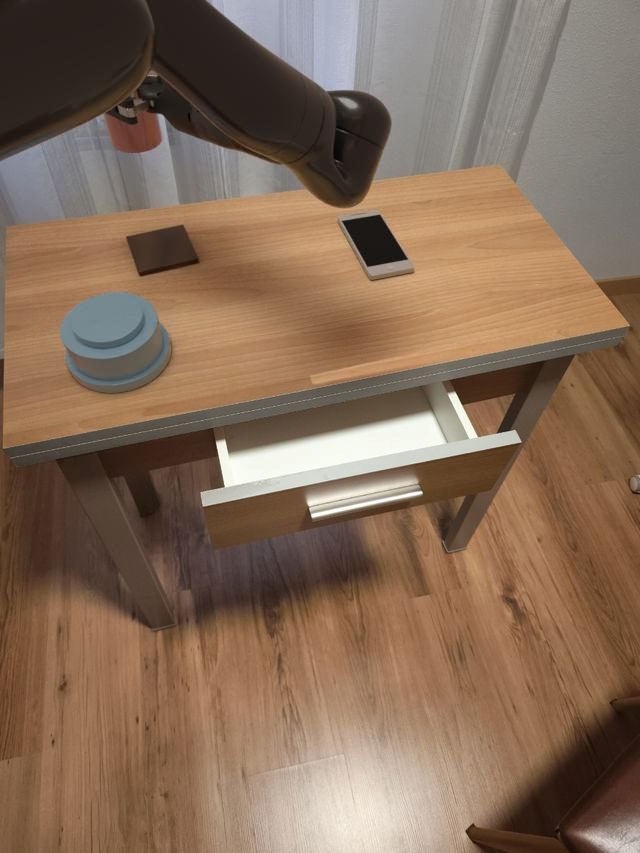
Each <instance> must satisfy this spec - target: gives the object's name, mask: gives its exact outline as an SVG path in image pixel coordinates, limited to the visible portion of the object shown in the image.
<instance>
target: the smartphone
mask: <svg viewBox="0 0 640 853" xmlns="http://www.w3.org/2000/svg"><path fill="white" fill-rule="evenodd" d="M337 223H338V225H339V227H340V228H341V230H342V232H343V235H344V236H345V237H346V239H347V242H348V243H349V245H350V247H351V248H352V250H353V253H354V254H355V256H356V258H357V259H358V261H359V263H360V265H361V267H362V269H363V270H364V272H365V275H366V276H367V278H368V279H369V280H370V281H374V280H378V279H385V278H390V277H395V276H400V275H405V274H411V273H414V270H415V265H414V263H413V261H412V260H411V259H410V257H409V256H408V254H407V252H406V251H405V249H404V248H403V246H402V245H401V243H400V241H399V240H398V238H397V237H396V235H395V233H394V232H393V230H392V229H391V227H390V225H389V224H388V223H387V220H386V219H385V218H384V216H383V214H382V212H381V211H380V209H377V208H376V209H370V210H364V211H358V212H353V213H352V212H351V213H346V214H339V215H338V216H337Z"/></svg>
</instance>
